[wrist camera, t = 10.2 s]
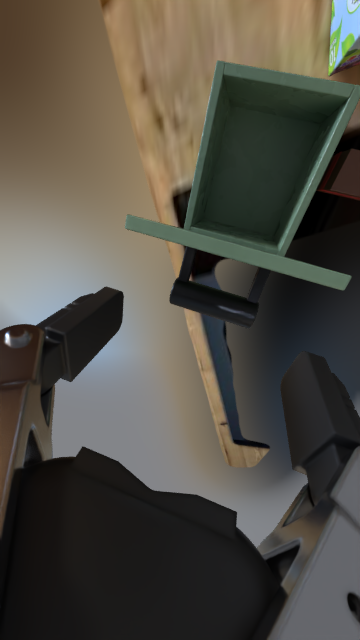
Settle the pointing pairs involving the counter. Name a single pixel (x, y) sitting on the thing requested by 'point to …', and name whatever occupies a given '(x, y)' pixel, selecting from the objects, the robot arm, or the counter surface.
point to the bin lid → (218, 300)
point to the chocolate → (342, 175)
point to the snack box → (344, 35)
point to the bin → (264, 153)
